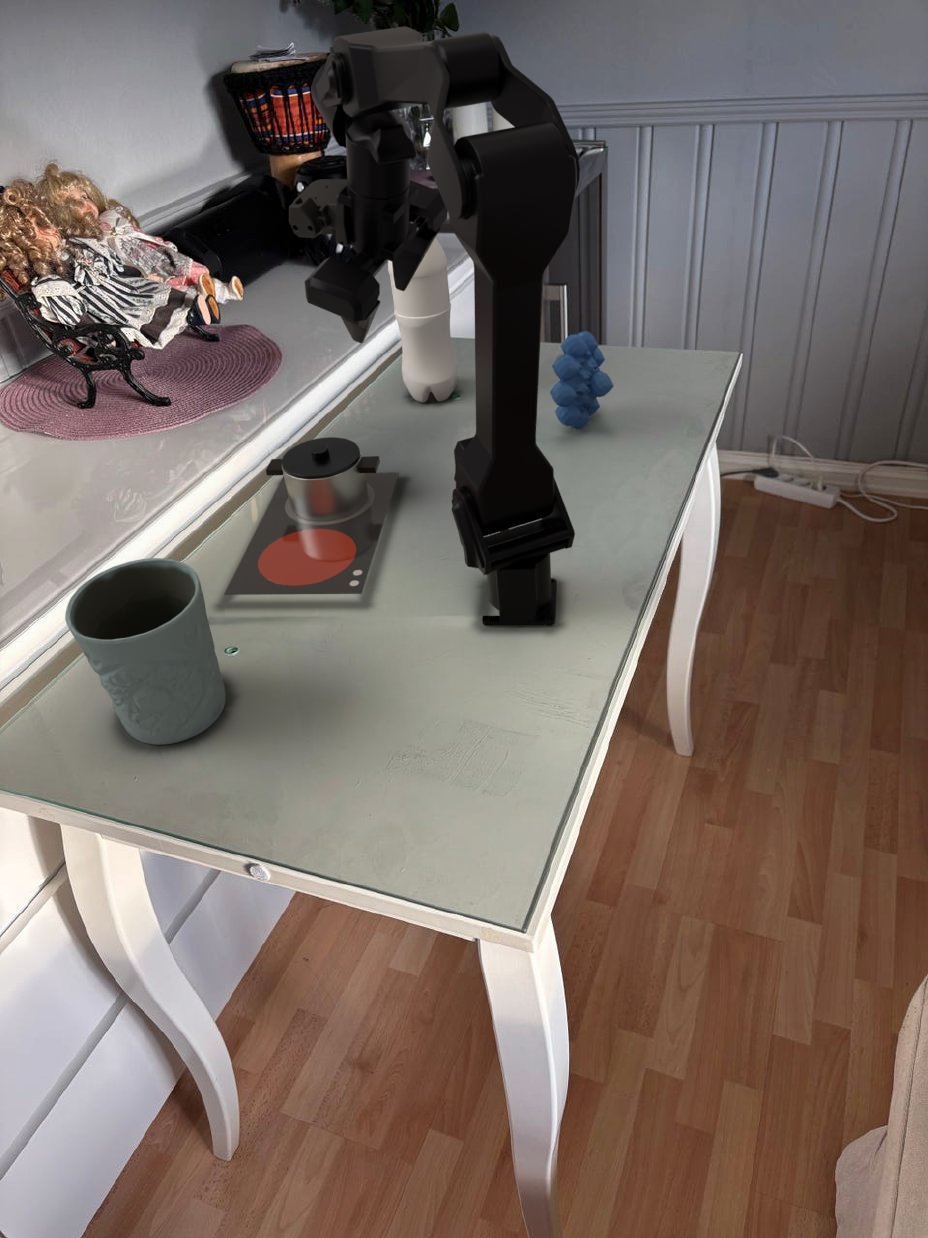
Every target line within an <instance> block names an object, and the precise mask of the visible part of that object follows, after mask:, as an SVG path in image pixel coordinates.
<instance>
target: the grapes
mask: <svg viewBox="0 0 928 1238" xmlns="http://www.w3.org/2000/svg"><path fill="white" fill-rule="evenodd" d="M560 348H561V350H562V352H563V354H560V355H559V356H558V357H557V358H556V359H555V360H554V362H553V363H552V365H551V367H552V370H553V372H554V374H555V376H557V378H558V379H559V381H558V382H556V384H554V386H553V387H552V388H551V389H550V391H549V395H550V396H551V398H552V400H553V402H554V403H555V405H557V408H556V409H555V411H554V413H555V416H556V417H557V420H558V421H559V422H560V423H561V424H562V425H564V426H566V427H571V428H572V429H574V430H581V429H583V428H584V427H585V426H586V425H588V423H590V421H591V420H592V418H591V416H593V415H594V414H595V413H597V411H598V410H599V409H600V407H601V405H600V403H599V401H598V399H597V398H602V397H605V396H606V395H607V394H609V393H610V391H611V390H612V389H613V388H614V387H615V386H614V383H613V381H612V379H611V377H610V376H609V375H608V373H606V372H604V371H602V370H601V368H600V367H601V366H602V364H603V363H604V362H605V361H606V358H605V356H604V354H603V352H602V351H601V349H600V347H599V344H598V342H597V340H596V338H595V336H594V335H593V334H592V333H591V332H590V331H588V330H584V331H580V332H579V333H573V334H569V335H568V336H567V337H566V338H564V340H563V341H562V343H561V344H560Z"/></svg>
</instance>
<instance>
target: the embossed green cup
mask: <svg viewBox="0 0 928 1238" xmlns="http://www.w3.org/2000/svg"><path fill="white" fill-rule="evenodd" d="M64 620H65V624H66V626H67V628H68V629H69V631H70V633H71V635H72V636H73V638H74V639H75V642H76V643H77V645H78V646H79V648H80V650H81V651H82V653H83V655H84V656H85V657H86V659H87V663H88V664H89V666H90V668H91V669H92V670H93V671H94V672H95V674H97V675H98V676H99V681H100V685H101V686H102V687H103V689H104V690H105V691H106V693H107V695H108V696H109V698H110V699H111V704H112V708H113V709H114V711H115V714H116V715H117V717H118V719H119V721H120V723H121V724H122V726H123V727H124V729H125V731H126V732H127V733H128V734H129V735H130V736H131V737H132V738H134V739H135V740H137V741H138V742H141V743H144V744H149V745H155V746H157V745H159V746H160V745H161V746H163V745H172V744H176V743H180V742H183V741H187V740H188V739H189V740H190V739H191V738H193V737H196V736H198V735H199V734H202V733H203V732H204V731H206V730H207V729H208V728H210V727H211V726H212V725H213V724H214V723H215V722H216V721H217V720H218V719H219V718H220V716H221V714H222V713H223V711H224V709H225V706H226V701H227V700H226V699H227V692H226V687H225V683H224V680H223V675H222V673H221V670H220V665H219V659H218V657H217V653H216V650H215V643H214V639H213V635H212V631H211V627H210V623H209V619H208V615H207V609H206V602H205V597H204V593H203V588H202V584H201V580H200V577H199V575H198V573H197V572H196V571H195V570H194V569H193V567H191V566H190V565H188V564H187V563H185V562H183V561H179V560H175V559H171V558H165V557H163V558H161V557H150V558H140V559H136V560H131V561H126V562H123V563H121V564H118V565H114V566H112V567H109V568H107V569H106V570H103V571H101V572H99V573H97V574H95V575H94V576H92V577H90V578H89V579H88V580H87V581H85V582H84V583H83V584H82V585H80V587H78V588H77V590H75V592H74V593H73V594H72V596H71V597H70V599H69V601H68V602H67V606H66V609H65V614H64Z"/></svg>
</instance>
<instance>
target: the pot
mask: <svg viewBox="0 0 928 1238" xmlns="http://www.w3.org/2000/svg"><path fill="white" fill-rule="evenodd" d="M380 463H381V460H380V456H379V455H373V456H372V455H371V456H362V451H361V450H360V447H359V445H358V444H357V443H356V442H354V441H352V440H350V439H347V438H342V437H336V436H335V437H333V436H331V437H330V436H329V437H328V436H327V437H318V438H313V439H310V440H307V441H304V442H301V443H299V444H296V445H294V446H293V447H291V448H290V449H289V450H287V451H286V452H285V454H284V455H283V457H282V458H272V459H270V461H269V463H268V464H267V467H266V469H265V473H266V476H267V477H269V476H284V479H285V483H286V487H287V491H288V495H289V500H290V504H291V508H292V510H293V512H294V513H295V514H296V515H297V516H299V517H301V518H303V519H307V520H312V521H329V520H335V519H339V518H343V517H346V516H348V515H351V514H353V513H355V512H356V511H358V510H359V509H360V508H362V507H363V506H364V505H365V503H366V502H367V500H368V489H367V483H366V477H365V473H377V472H378V469H379V466H380Z"/></svg>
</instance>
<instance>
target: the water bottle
mask: <svg viewBox="0 0 928 1238" xmlns="http://www.w3.org/2000/svg"><path fill="white" fill-rule="evenodd" d="M387 270H388V274H389V278H390V285H391V293H392V300H393V307H394V309H393V314H394V318H395V320H396V322H397V325H398V330H399V334H400V340H401V348H402V349H401V352H402V359H401V360H402V361H401V374H402V381H403V383H404V385H405V388H406V390H407V391H408V392H409V394H410V395H411V397H412V398H413V399H414V400H415V401H416V402H418V403H426V402H427V401H428V398H429V396H430V393H432V394H433V396H434V398H435V400H436V401H437V402H443V401H446V400H448V399H449V398H450V396H451V395H452V393H453V392H454V391H455V389H456V387H457V384H458V379H459V371H458V362H457V357H456V354H455V352H454V348H453V343H452V335H451V309H452V302H451V298H450V297H451V296H450V287H449V277H448V260H447V256H446V253H445V251H444V249H443V247H442V245H441V244H440V241H439V240H438V239H437V236H436V237H435V239H434V241H433V242H432V244H431V246H430V248H429V249H428V251H427V253H426V254H425V256H424V258H423V260H422V261H421V263H420V265H419V267H418V268H417V270H416V272H415V274H414V276H413V277H412V279H411V281H410V283H409V284H408V286H407V288H406V290H405V291H401V290H398V289H396V287H395V282H394V276H393V266H392V261H389V260H388V261H387Z"/></svg>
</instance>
